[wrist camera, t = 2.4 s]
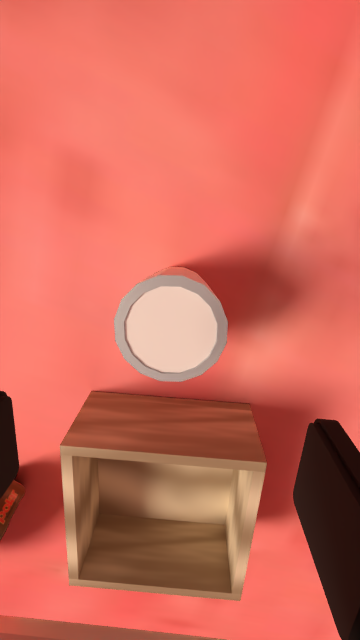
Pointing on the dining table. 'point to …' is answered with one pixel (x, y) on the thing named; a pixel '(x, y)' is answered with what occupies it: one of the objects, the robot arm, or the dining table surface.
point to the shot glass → (171, 326)
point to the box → (161, 494)
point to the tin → (10, 504)
